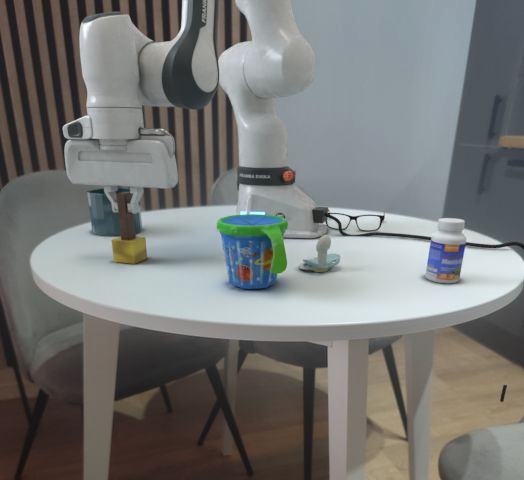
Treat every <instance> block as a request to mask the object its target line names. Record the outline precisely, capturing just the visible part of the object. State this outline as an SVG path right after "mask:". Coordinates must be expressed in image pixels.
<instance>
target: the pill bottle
mask: <svg viewBox="0 0 524 480" xmlns="http://www.w3.org/2000/svg"><path fill="white" fill-rule="evenodd" d="M465 224H466V221H465V220H464V219H461V218H453V217H441V218H438V221H437V229H438V230H437V231H434V233H432V235H431V236H430V237H431V241H430V243H429V251H428V256H427V261H426V271H425V278H426V279H427V280H428V281H431V282H434V283H439V284H453V283H457V282H459V280H460V278H461V273H462V266H463V262H464V261H463V260H464V256H465V251H466V246H465V245H466V242H467V236H466V235H465V234H464V233H463V232H462V231H464V229H465Z"/></svg>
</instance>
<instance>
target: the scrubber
mask: <svg viewBox="0 0 524 480" xmlns="http://www.w3.org/2000/svg"><path fill="white" fill-rule="evenodd" d="M116 195H117V205H118V214H119V223H120V232H121V236H118V237H116V238H113V239H111V248H112V256H113V262H114V263H121V264H131V265H135V264H138V263H140V262H142V261H144V260H147V259H148V251H147V241H146V236H137V233H136V234H135V223H134V214H132V213H128V212H127V206H126V203H130V202H131V199H132V193H130V192H121V193H116Z"/></svg>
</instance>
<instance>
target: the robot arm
mask: <svg viewBox="0 0 524 480" xmlns="http://www.w3.org/2000/svg"><path fill="white" fill-rule="evenodd" d="M234 5H235V6H236V8H237V9H238V11H239V12H240V13H241V14H243V15H244V17H245V19H246V21H247V24H248V27H249V30H250V35H251V40H248V41H243V42H238V43H236V44H234V45H232V46H230V47H228V48H227V49H226V50H224V51H222V53H221V54H220V56H219V55H218V54H219V53H218V36H219V35H218V32H219V10H220V0H181V22H180V30H179V31H178V34H177V35H176V36H175V37H174V38H173V39H172V40H169V41H160V42H155V41H154V39H153V40H152V39H151V38H149V37H148V36H146V35H145V34H144V33H143V32H141V31H140V30H139V29H138V28H137V26H135V24H134V22H133V21H132V19H131V17H130V15H129V14H128V13H126V12H124V11H106V12H102V13H95V14H90V15H87V16H85V17H84V18H83V19H82V21H81V23H80V27H79V36H78V37H79V56H80V67H81V76H82V79H83V82H84V84H85V87H86V93H87V95H86V96H87V97H86V102H85V103H86V105H85V107H86V114H87V115H83V116H82V117H79V118H77V119H75V120H72V121H71V122H68V123H66V124H64V125H63V126H62V132H63V133H62V134H63V136H64V138H65V139H67V141H66V142H65V144H64V150H63V151H64V152H63V153H64V163H65V171H66V176H67V178H68V179H69V180H70V182H71V183H72V184H73V185H87V186H88V185H89V186H103V188H104V192H105V194H106V196H107V197H108V199H109V200H110V202H111V204H112V211H113V212H118V205H117V195H116V192H115V191H117V190H118V189H117V188H118V187H124V188H130V193H132V194H133V196H132V199H131V202H130V203H126V206H127V212H128V213H132V214H136V213H139V202H140V203H141V199H142V197H143V195H144V191H145V190H144V188H145V189H163V190H164V189H165V190H167V189H172V188H175V187H176V185H178V182H179V173H178V165H177V159H176V155H175V152H176V145H175V138H174V136H173V135H172V134H171V133H170V132H169V131H167V130H166V129H165V128H162V127H159V128H152V127H145V124H144V122H145V121H144V113H143V112H144V111H143V106H145V107H157V108H158V107H159V108H179V109H187V110H195V111H199V110H202V109H204V108H206V107H207V106H208V105H209V104H210V103H211V101H212V100H213V98H214V96H215V95H216V92H217V90H218V88H219V85H220V88H221V89H222V90H223V91H224V92H225V94H226V95H227V97H228V99H229V102H230V104H231V108H232V111H233V114H234V117H235V122H236V127H237V138H238V139H237V141H238V142H237V143H238V144H237V145H238V165H237V167H236V189H237V192H238V193H237V204H236V212H235V215H243V214H262V215H274V216H279V217H283V218H285V219H286V220H287V222H288V227H287V229H286V231H285V233H284V235H283V238H288V239H289V238H290V239H315V238H320V237H322V236H323V235H326V233H328V227H327V225H326V222H325V221H327V222H328V219H329V218H330V219H329V220H333V221H334V222H335V223H336V224H337V225H338V227H337V228H338V229H339V230H338V232H339V234H340V235H342V236H343V237H373V236H374V237H375V236H376V237H379V236H380V237H393V238H407V239H414V240H415V239H417V240H424V241H430V242H431V237H432V236H426V235H419V234H408V233H397V232H383V231H381V232H380V231H370V232H364V233H359V234H350V233H347V232H345V231H344V230H342V229H343V227H342V221H340V220H339V218H337V217H336V216H334V215H333V214H330V215H329V214H328V213H329V211H328V209H329V206H317V204H316V202H315V201H314V200H313V199H312V198H311V197H309V196H308V195H307V194H306V193H305V192H304V191H303V190H302V189H300V187H299V186H297V185H296V184H295V183H296V176H297V174H296V173H297V169H292V168H291V167H289V166H288V155H289V154H288V153H289V152H288V151H289V150H288V149H289V131H288V127H287V126H286V124H285V123H284V122H283V121H282V119H280V117H279V115H278V112H277V109H276V105H275V100H274V99H277V98H278V99H281V98H282V99H283V98H289V97H291V96H295V95H297V94H299V93H303V92H304V91H306V90H307V89H309V87H310V86H311V84H312V82H313V81H314V78H315V75H316V68H317V62H316V56H315V52H314V50H313V48H312V46H311V44H310V43H309V42H308V41H307V40H306V38H305V37H303V35H302V33H301V32H300V29H299V28H298V25H297V22H296V20H295V16H294V13H293V6H292V1H291V0H234ZM511 246H517V247H520V248H521V249H522V250H524V243H522V242H519V241H509V242H505V243H504V242H503V243H499V244H490V243H489V244H488V243H477V242H469V241H466V245H465V247H473V248H481V249H482V248H483V249H503V248H507V247H511ZM507 387H508V384H503V386H502V389H501V395H500V399H499V402H500V403H504V401H505V396H506V392H507Z"/></svg>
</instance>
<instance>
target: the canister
mask: <svg viewBox="0 0 524 480" xmlns="http://www.w3.org/2000/svg"><path fill="white" fill-rule="evenodd" d="M117 189H118V190H117V191H115V192H116V193H121V192H130V187H117ZM86 194H87V201H88V209H89V210H88V211H89V217H90V225H91V230H92V231H91V232H92V233H93V234H94V235H97V236H102V237H103V236H104V237H121V232H120V223H119V214H118V212H113V211H112V204H111V202H110V200H109V199H108V197H107V196H106V194H105V192H104V187H102V188H92V189H89V190H86ZM132 196H133V194H132ZM141 210H142V209H141V201H140V202H139V213H136V214H134V223H135V234H136V235H137V234H139V233H141V232H142V231H143V221H142V211H141Z"/></svg>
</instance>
